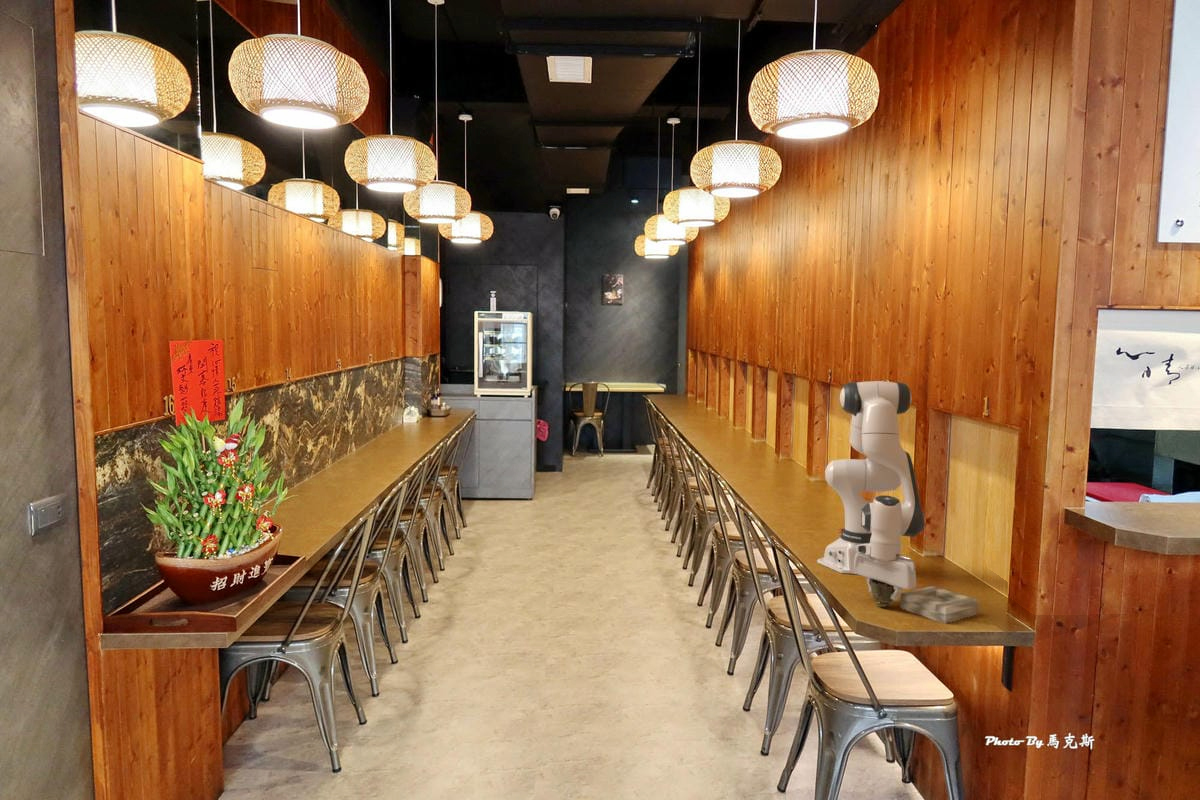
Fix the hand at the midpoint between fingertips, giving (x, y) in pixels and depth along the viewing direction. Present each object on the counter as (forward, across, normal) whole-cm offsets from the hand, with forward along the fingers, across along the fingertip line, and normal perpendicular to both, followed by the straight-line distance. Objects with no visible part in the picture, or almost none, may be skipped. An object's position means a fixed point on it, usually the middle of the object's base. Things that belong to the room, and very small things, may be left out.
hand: (883, 596), depth 236 cm
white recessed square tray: (+4, -11, -11) cm, 16 cm away
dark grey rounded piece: (+3, 0, 0) cm, 3 cm away
